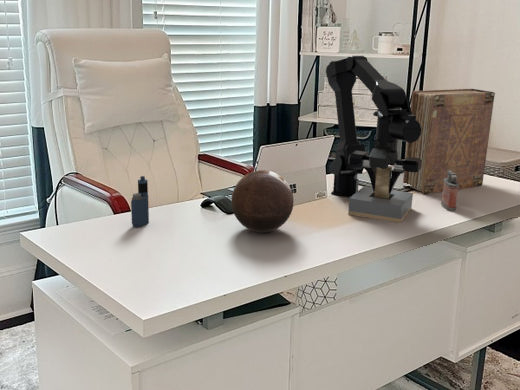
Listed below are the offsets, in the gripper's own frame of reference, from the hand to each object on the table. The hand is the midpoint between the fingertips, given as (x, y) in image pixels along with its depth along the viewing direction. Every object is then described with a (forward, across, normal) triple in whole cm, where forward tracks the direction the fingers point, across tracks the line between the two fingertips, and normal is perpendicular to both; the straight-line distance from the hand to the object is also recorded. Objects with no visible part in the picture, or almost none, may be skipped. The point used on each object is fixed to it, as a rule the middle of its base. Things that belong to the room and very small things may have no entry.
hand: (382, 192), depth 167 cm
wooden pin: (+3, 0, 0) cm, 3 cm away
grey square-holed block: (+6, 0, 0) cm, 6 cm away
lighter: (+6, +16, +14) cm, 22 cm away
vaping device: (+6, -50, -41) cm, 65 cm away
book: (+6, +11, +36) cm, 38 cm away
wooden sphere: (+6, -22, -30) cm, 38 cm away
